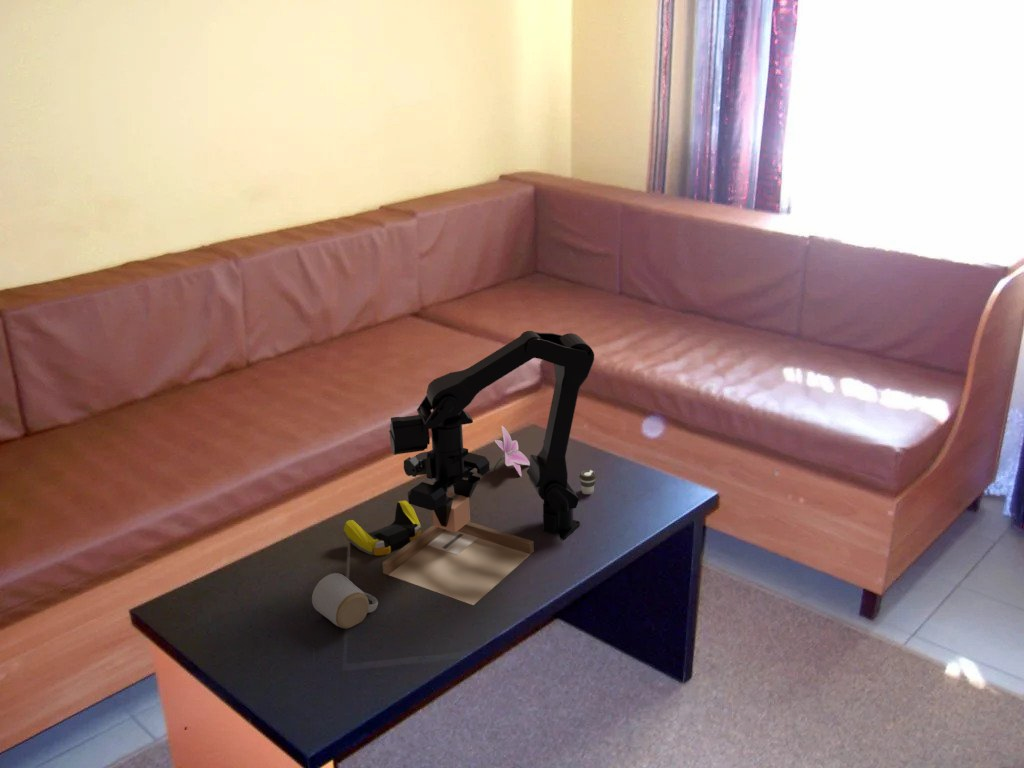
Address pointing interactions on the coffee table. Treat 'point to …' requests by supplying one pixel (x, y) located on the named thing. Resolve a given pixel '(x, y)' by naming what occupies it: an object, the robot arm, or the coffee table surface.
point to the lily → (511, 452)
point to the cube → (456, 513)
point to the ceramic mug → (342, 601)
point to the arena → (459, 560)
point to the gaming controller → (386, 532)
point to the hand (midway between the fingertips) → (452, 519)
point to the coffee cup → (587, 481)
